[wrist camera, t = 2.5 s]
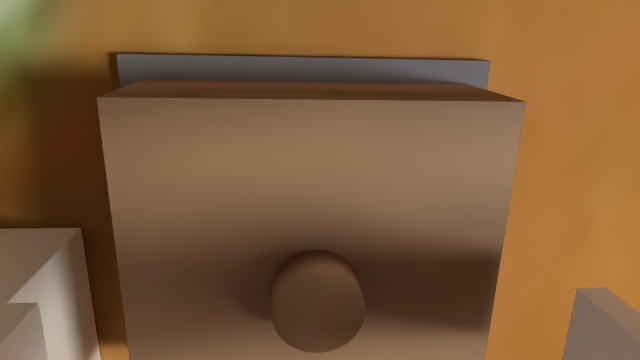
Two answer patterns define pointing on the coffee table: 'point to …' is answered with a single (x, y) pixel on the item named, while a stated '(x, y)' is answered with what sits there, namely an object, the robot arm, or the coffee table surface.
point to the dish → (51, 287)
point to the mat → (300, 69)
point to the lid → (308, 217)
